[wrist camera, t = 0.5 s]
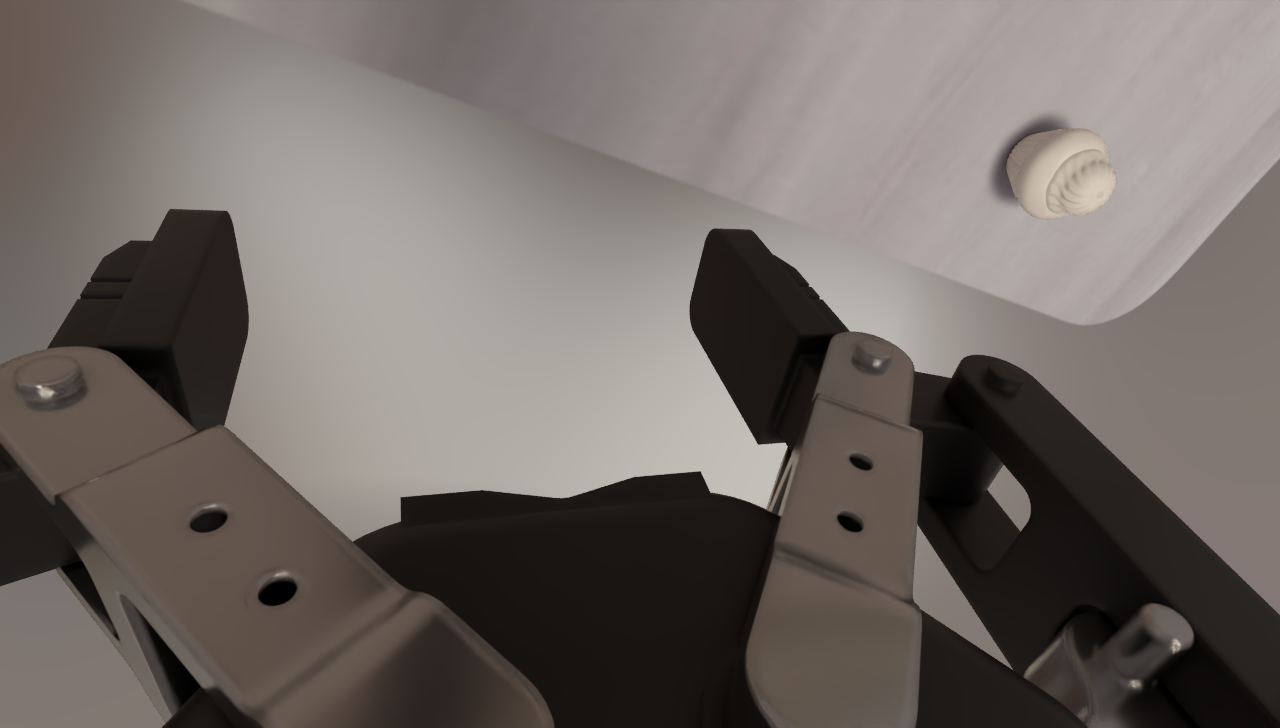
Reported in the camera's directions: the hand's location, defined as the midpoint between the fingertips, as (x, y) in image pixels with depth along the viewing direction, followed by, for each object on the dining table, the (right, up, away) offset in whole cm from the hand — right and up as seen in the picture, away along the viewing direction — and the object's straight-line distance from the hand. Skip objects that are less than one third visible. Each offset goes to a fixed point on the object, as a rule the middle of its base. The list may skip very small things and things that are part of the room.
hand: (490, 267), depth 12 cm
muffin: (+30, +13, +37) cm, 49 cm away
